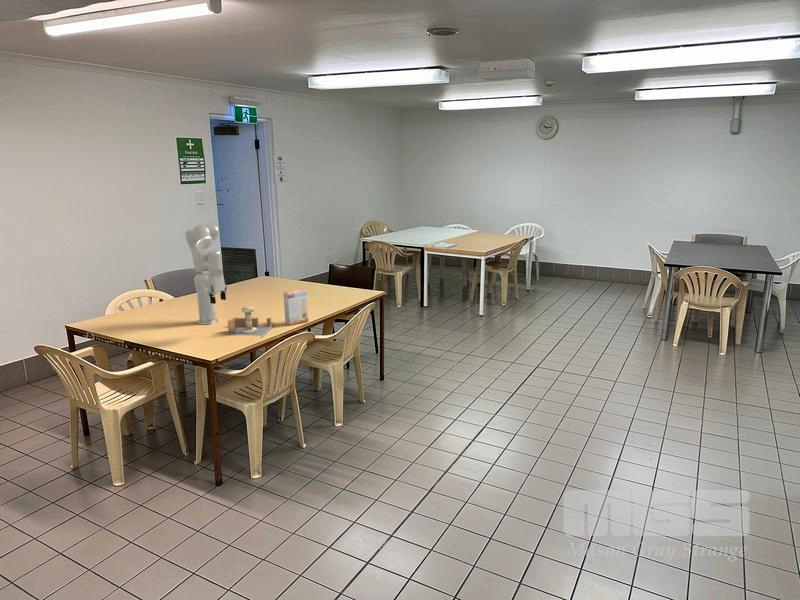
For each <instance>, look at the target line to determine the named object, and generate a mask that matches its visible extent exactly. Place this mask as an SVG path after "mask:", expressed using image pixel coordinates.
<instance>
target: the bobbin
mask: <svg viewBox="0 0 800 600" xmlns="http://www.w3.org/2000/svg"><path fill="white" fill-rule="evenodd" d="M254 311H255V307H253V306H251V307H250V306H247V307H243V308H241V312H242V313H244V318H245V321H246V328H243V329H242V330H241V331H242V333H246V334H248V333H255V332H257V328H255V327H252V318H253V316H252V312H254Z"/></svg>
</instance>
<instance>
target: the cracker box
mask: <svg viewBox="0 0 800 600" xmlns="http://www.w3.org/2000/svg"><path fill="white" fill-rule="evenodd" d="M282 293H283V308H284V322H285V324H286V325H287V326H294V325H298V324H303V323H308V322H309V307H308V290H306V289H303V288H300V289H295V290H289V291H283V292H282Z"/></svg>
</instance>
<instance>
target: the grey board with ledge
mask: <svg viewBox="0 0 800 600" xmlns="http://www.w3.org/2000/svg"><path fill="white" fill-rule="evenodd" d="M232 319H237V330H238V331H237V332H235V333H229V331H228V330H227V331H226V332H225V333H224V334H223V336H255V337H257V336H261V337H260V338H261V339H262V337H263V338H264V337H265V335H266V334H268V333H269V332H270V330H271V329H272V328H273V327H272V318H271V317H267V318H266V325H260V324H259V323H260V322H259V317H252V327H255V328H257V332H255V333H248V334H246V333H242V331H241V330H242V329H243V328H246V321H245V317H233V318H232Z"/></svg>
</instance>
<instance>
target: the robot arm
mask: <svg viewBox="0 0 800 600" xmlns="http://www.w3.org/2000/svg"><path fill="white" fill-rule="evenodd" d="M219 231H220V230H219V227H218V226H217V225H216V224H215V223H214V224H213V223H209V224H198V225H196V226H194V228H191V229H190V228H189V229H187V230H186V231H185V234H184V236H185V241H186V243H187V245H188V247H189V249H190V252H191V255H192V256H191V257H192V261H193V267H194V270H195V271H196V272H198V273H199V274H196V275H195V276H194V278H193V280H194V281H193V282H194V286H195V289H196V296H197V307H198V308H197V309H198V316H199V317H198V319H197V324H198V325H211V324H212V323H218V322H219V320H218V318H217V317H216V315H217V313H216V312H215V304H216V302H217V300H216V294H218V293H220V295H219V296H220V300H222V301H225V300H227V295H226V294H227V288H228V285H227V284H226V283H225V277H224V272H223V271H224V270H223V261H222V256H223V255H222V252H221V250H220V249H219V248H211V249H210V247H211V246H212V245H213V243H214V241H215V240H217V239H218V238H219V236H220V235H219V234H220V232H219ZM206 272H207V273H206Z"/></svg>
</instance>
